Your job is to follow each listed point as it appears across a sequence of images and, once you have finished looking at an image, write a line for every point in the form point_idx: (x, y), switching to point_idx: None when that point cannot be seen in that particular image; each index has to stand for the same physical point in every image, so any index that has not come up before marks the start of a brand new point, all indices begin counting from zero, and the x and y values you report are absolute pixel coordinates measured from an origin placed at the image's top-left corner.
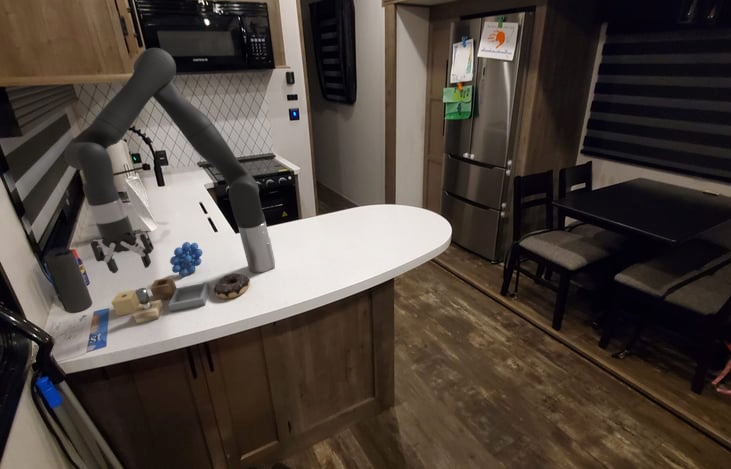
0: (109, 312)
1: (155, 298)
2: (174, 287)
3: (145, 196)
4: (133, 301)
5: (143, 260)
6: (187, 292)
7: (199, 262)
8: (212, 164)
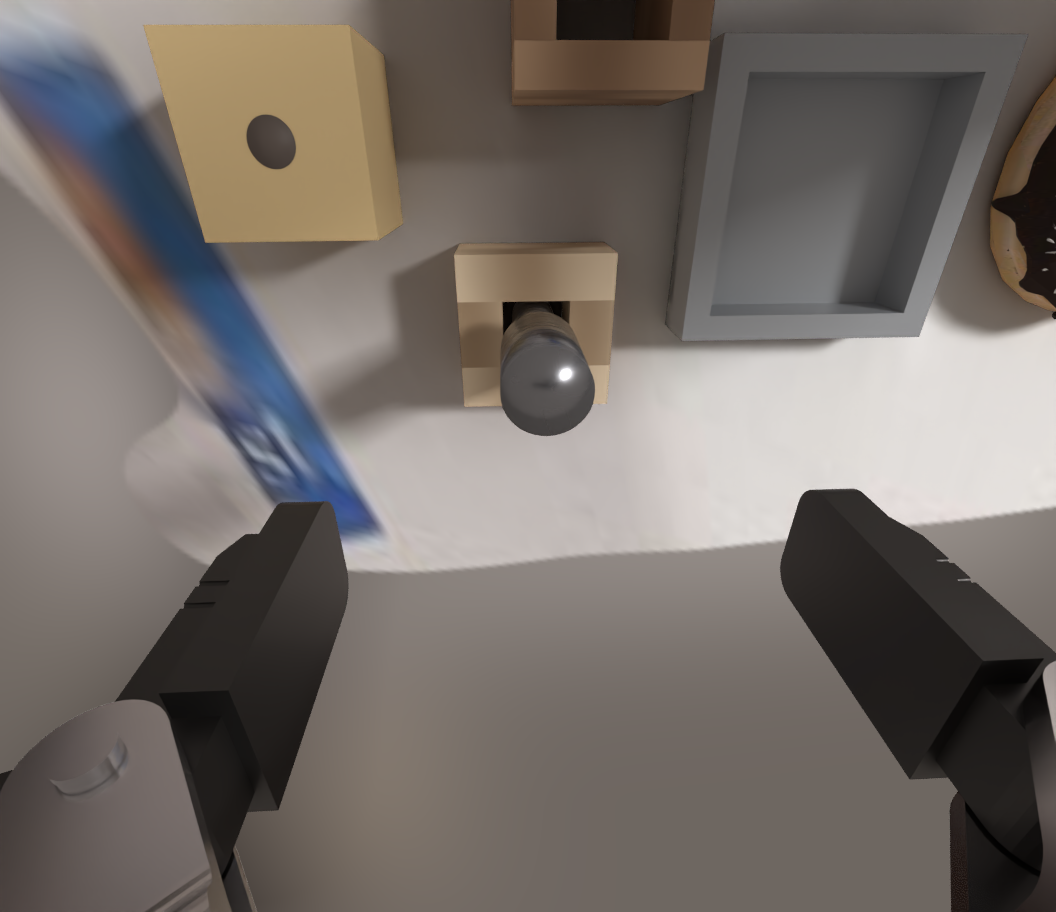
0: (157, 145)
1: (524, 103)
2: None
3: None
4: (383, 207)
5: (877, 695)
6: (789, 77)
7: None
8: None
